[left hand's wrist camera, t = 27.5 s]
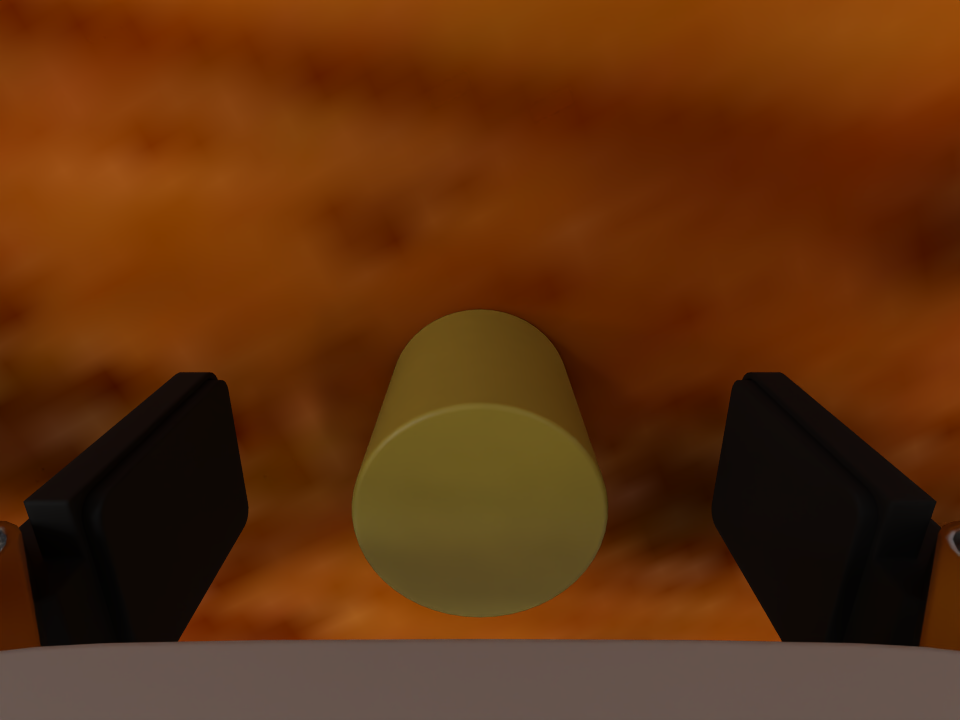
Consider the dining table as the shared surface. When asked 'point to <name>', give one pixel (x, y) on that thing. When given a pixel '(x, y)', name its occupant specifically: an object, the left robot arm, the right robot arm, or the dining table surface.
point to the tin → (479, 471)
